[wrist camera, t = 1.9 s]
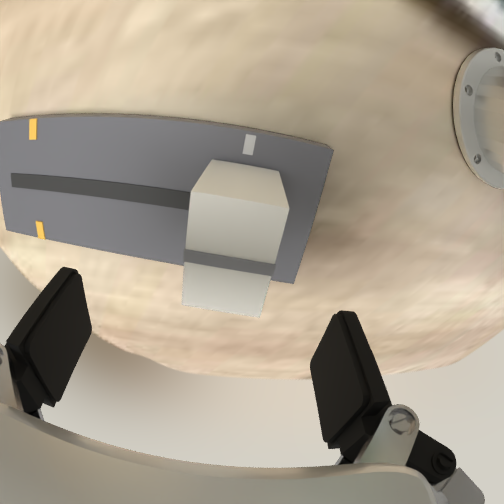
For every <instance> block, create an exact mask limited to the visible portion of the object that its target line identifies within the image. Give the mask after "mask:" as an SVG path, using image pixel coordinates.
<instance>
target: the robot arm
mask: <svg viewBox="0 0 504 504" xmlns="http://www.w3.org/2000/svg"><path fill="white" fill-rule="evenodd" d="M453 117H454V124H455V131H456V136H457V139H458V143H459V147H460V149H461V152H462V154H463V157H464V159H465V161H466V162H467V164H468V166H469V168H470V169H471V170H472V172H473V173H474V174H475V175H476V176H477V177H478V178H479V179H480V180H482V181H483V182H484V183H486V184H488V185H490V186H492V187H494V188H497V189H504V50H502V49H497V48H482V49H479V50H476V51H474V52H473V53H472V54H470V55H469V56H468V57H467V58H466V60H465V61H464V62H463V64H462V65H461V68H460V70H459V73H458V75H457V79H456V83H455V87H454V98H453ZM91 331H92V325H91V321H90V317H89V312H88V308H87V303H86V298H85V293H84V288H83V282H82V277H81V275H80V274H78V271H77V270H76V269H72V268H67V267H62V268H61V269H60V270H59V271H58V272H57V274H56V275H55V276H54V277H53V278H52V280H51V281H50V282H49V283H48V285H47V286H46V287H45V288H44V290H43V291H42V292H41V293H40V295H39V296H38V298H37V299H36V300H35V301H34V303H33V304H32V305H31V307H30V308H29V309H28V311H27V312H26V313H25V315H24V316H23V317H22V319H21V320H20V322H19V323H18V325H17V326H16V327H15V329H14V330H13V332H12V333H11V335H10V336H9V338H8V339H7V343H6V345H5V346H3V345H2V344H0V504H484V502H485V499H484V495H483V493H482V491H481V490H480V489H479V488H478V487H477V486H476V485H475V484H474V482H473V481H472V480H471V479H470V478H469V477H468V476H467V475H466V474H465V473H464V471H462V469H461V468H458V469H456V459H455V455H454V454H453V452H452V451H451V450H450V449H449V448H447V447H446V446H444V445H442V444H441V443H439V442H437V441H436V440H434V439H433V438H431V437H429V436H428V435H426V434H425V433H423V432H422V431H420V430H419V419H418V417H417V415H416V414H415V412H414V411H413V410H412V409H410V408H409V407H407V406H405V405H399V404H397V405H392V404H391V401H390V398H389V395H388V392H387V390H386V387H385V384H384V381H383V379H382V376H381V373H380V371H379V368H378V365H377V363H376V360H375V358H374V355H373V353H372V350H371V349H370V346H369V344H368V341H367V339H366V336H365V334H364V332H363V329H362V327H361V324H360V322H359V320H358V317H357V315H356V313H355V312H352V311H339V312H338V313H337V314H334V315H333V316H332V319H331V321H330V323H329V325H328V327H327V329H326V331H325V333H324V335H323V337H322V339H321V341H320V343H319V345H318V347H317V349H316V351H315V353H314V355H313V357H312V359H311V362H310V370H311V375H312V381H313V386H314V391H315V397H316V402H317V407H318V413H319V418H320V425H321V430H322V436H323V440H324V442H327V443H328V449H335V448H340V452H341V456H340V458H339V459H338V461H337V462H336V464H335V465H332V466H320V467H297V468H251V467H234V466H221V465H211V464H202V463H194V462H187V461H181V460H175V459H169V458H164V457H158V456H153V455H149V454H144V453H140V452H136V451H131V450H128V449H124V448H120V447H116V446H113V445H109V444H106V443H103V442H100V441H96V440H93V439H90V438H87V437H84V436H82V435H79V434H76V433H73V432H70V431H68V430H65V429H63V428H60V427H57V426H55V425H52V424H50V423H48V422H45V421H44V418H43V415H42V412H41V409H40V408H41V406H42V403H44V404H47V405H49V406H51V407H54V406H55V403H56V401H57V402H59V401H60V400H61V398H62V395H63V393H64V391H65V388H66V386H67V384H68V381H69V379H70V377H71V374H72V372H73V370H74V368H75V366H76V364H77V362H78V359H79V357H80V355H81V353H82V351H83V349H84V347H85V345H86V343H87V341H88V339H89V337H90V335H91Z"/></svg>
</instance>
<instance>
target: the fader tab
mask: <svg viewBox="0 0 504 504" xmlns="http://www.w3.org/2000/svg"><path fill="white" fill-rule="evenodd" d="M288 212H289V205H288V201H287V198H286V194H285V191H284V187H283V184H282V180H281V177H280V173H279V171H276V170H271V169H266V168H261V167H255V166H250V165H244V164H238V163H232V162H226V161H220V160H214V159H212V160H211V162H210V163H209V165H208V166H207V168H206V169H205V170H204V172H203V174H202V175H201V177H200V178H199V180H198V181H197V183H196V184H195V186H194V187H193V189H192V190H191V195H190V204H189V214H188V224H187V235H186V247H185V249H184V254H183V262H184V274H183V291H182V305H185V306H191V307H196V308H202V309H208V310H214V311H220V312H226V313H232V314H239V315H245V316H252V317H259V318H260V315H261V312H262V308H263V304H264V301H265V297H266V294H267V290H268V287H269V283H270V279H271V276H273V274H274V271H275V267H276V264H275V261H276V257H277V254H278V250H279V246H280V243H281V239H282V235H283V231H284V227H285V224H286V220H287V216H288Z"/></svg>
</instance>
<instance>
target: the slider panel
mask: <svg viewBox="0 0 504 504" xmlns="http://www.w3.org/2000/svg"><path fill="white" fill-rule="evenodd" d="M333 151H334V150H333V149H332V148H330V147H329V146H327V145H326V144H322V143H318V142H314V141H310V140H306V139H302V138H297V137H293V136H289V135H284V134H279V133H274V132H270V131H264V130H259V129H254V128H248V127H242V126H236V125H230V124H224V123H217V122H210V121H202V120H194V119H185V118H175V117H164V116H151V115H134V114H96V113H90V114H54V115H38V116H26V117H16V118H10V119H6V120H3V121H0V194H1V201H2V208H3V214H4V220H5V225H6V230H7V231H12V232H16V233H21V234H25V235H30V236H34V237H38V238H40V239H48V240H53V241H58V242H63V243H67V244H72V245H77V246H82V247H87V248H92V249H97V250H102V251H107V252H112V253H117V254H123V255H128V256H133V257H138V258H144V259H149V260H155V261H160V262H166V263H171V264H177V265H182V266H184V262H183V254H184V249H185V247H186V235H187V224H188V214H189V204H190V195H191V190H192V189H193V187H194V186H195V184H196V183H197V181H198V180H199V178H200V177H201V175H202V174H203V172H204V170H205V169H206V168H207V166H208V165H209V163H210V162H211V160H212V159H214V160H220V161H226V162H232V163H238V164H244V165H250V166H255V167H261V168H266V169H271V170H276V171H279V173H280V177H281V180H282V184H283V187H284V191H285V194H286V198H287V201H288V205H289V212H288V216H287V220H286V224H285V227H284V231H283V235H282V239H281V243H280V246H279V250H278V254H277V257H276V261H275V264H276V267H275V271H274V274H273V276H271V279H270V280H272V281H279V282H285V283H292V284H294V281H295V278H296V275H297V272H298V269H299V266H300V263H301V260H302V257H303V253H304V250H305V247H306V244H307V241H308V237H309V234H310V231H311V228H312V224H313V221H314V218H315V214H316V211H317V208H318V204H319V201H320V197H321V194H322V190H323V187H324V183H325V180H326V176H327V173H328V169H329V165H330V162H331V158H332V154H333Z"/></svg>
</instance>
